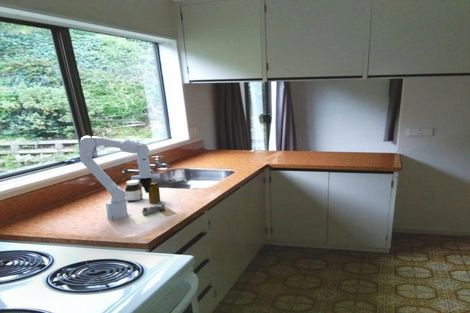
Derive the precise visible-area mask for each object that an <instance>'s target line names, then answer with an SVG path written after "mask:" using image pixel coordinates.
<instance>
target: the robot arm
mask: <svg viewBox="0 0 470 313" xmlns="http://www.w3.org/2000/svg"><path fill="white" fill-rule="evenodd" d="M101 146H105V147H110V148H118V149H120V151H121V152H123V153H129V154H133V155H134V154H135V155H136V157H137V159H136V160H137V166H138V174H137V175H131V176H130V180H139V184H140V185H141V186H142V188H143V189H144V192H145V193H146V194H148V193H149V190H150V184H151V183H152V180H153V179H160V178H161V174H160V173H152V172H151V165H150V157H149V153H150V149H149V146H148V145H146V144H145V143H143V142H139V141H131V140H130V139H123V140H122V141H119V140H116V139H115V140H114V139H109V138H106V137H103V136H102V137H101V136H93V135H92V136H91V135H84V136H82V137H80V139H79V143H78V152H79V160H80V162H81V163H82V164H83V165H84V166H85V167H86V169H87V170H89V172H90V173H91V174H92V175H93V176H94V177H95V178H96V179H97V181H98V182H99V183H100V184H101V185H103V187H104V188H105V189H106V190H107V192H108V193H109V194H110V196H111V199H110V201H108V202H107V203H105V208H106V215H107V216H106V217H107V218H108V219H109V220H110V221H112V220H116V219H122V218H125V217H126V216H128V215H129V214H128V207H127V206H128V205H127V200H126V198H125V190H123V188H122V186H120V185H118V184H116V182H114V181H113V180H112V179H111V177H110V176H109V175H108V174H107V173H106V172H105V171H104V169H102V168H101V167H100V166H99V164H98V163H97V162H96V161H95V159H93V158H92V155H93V151H94V150H95V148H99V147H101Z"/></svg>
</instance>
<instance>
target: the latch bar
mask: <svg viewBox="0 0 470 313" xmlns="http://www.w3.org/2000/svg"><path fill="white" fill-rule="evenodd" d="M163 210H165V204H164V203H163V204H158V205H155V206H152V207H151V208H146V207H143V209H141V211H142V213H143V215H144V216H145V215H149V214H152V213H156V212H159V211H163Z"/></svg>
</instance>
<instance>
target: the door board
mask: <svg viewBox="0 0 470 313" xmlns="http://www.w3.org/2000/svg"><path fill="white" fill-rule="evenodd" d="M177 214H178V213H177V212H176V211H174V210H172V209H171V208H169V207H167V206H166V207H165V210H163V211H159V212H156V213H152V214H149V215H145V216H144V215H143V213H138V214H133V215H130V216H129V218H130V219H131V220H132V221H133V222H134V223H136V225H140V224H145V223H147V222H148V223H149V222H151V221H152V222H153V221H155V220H159V219H163V218H166V217H171V216H174V215H177Z"/></svg>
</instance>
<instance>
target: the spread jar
mask: <svg viewBox="0 0 470 313" xmlns="http://www.w3.org/2000/svg"><path fill="white" fill-rule="evenodd" d="M124 192H125V198H126V202H127V203H128V202H129V203H134V202H139V201H141V200H143V186H142V184H141V183H140V179H136V180H131V179H130V180H128V181H126V186H125V189H124Z"/></svg>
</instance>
